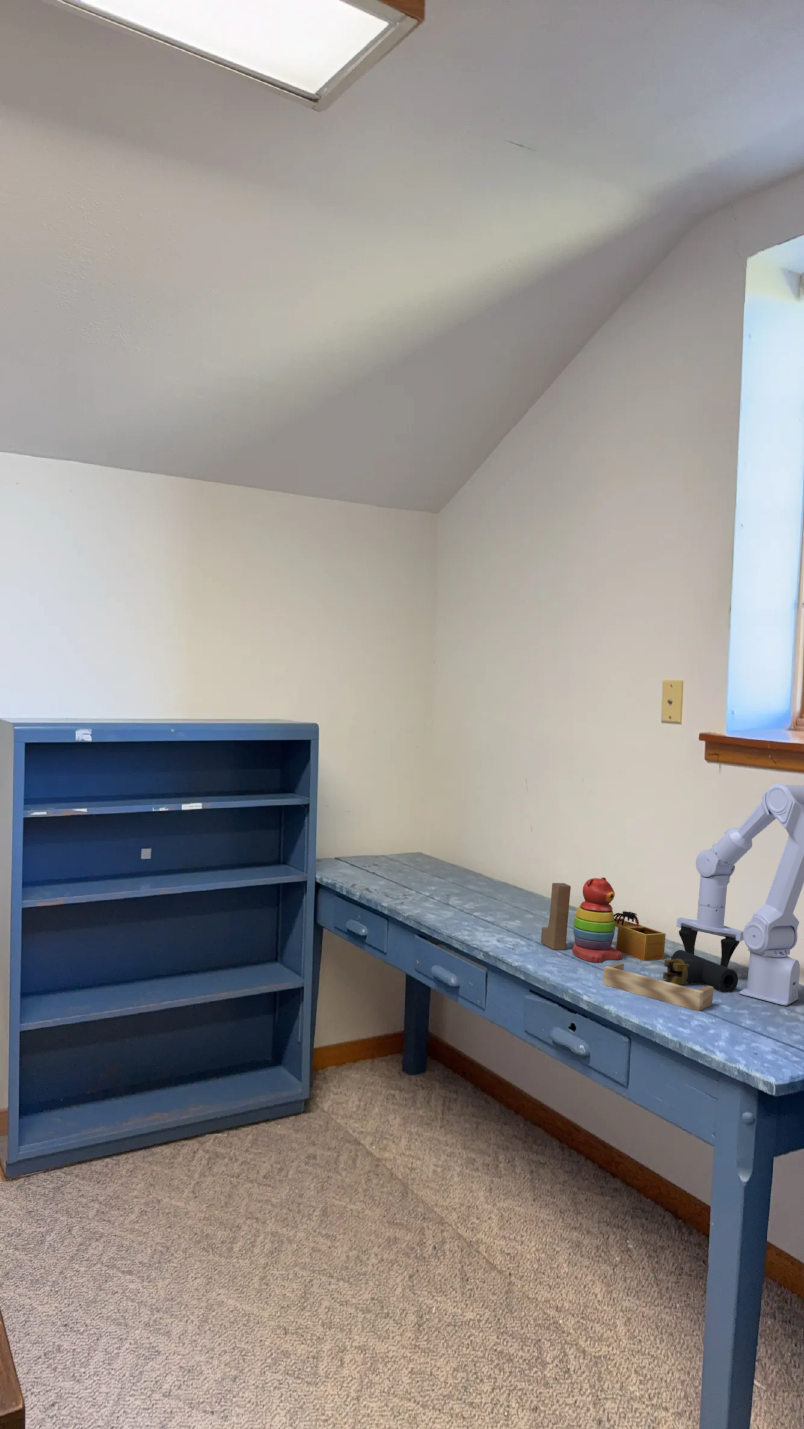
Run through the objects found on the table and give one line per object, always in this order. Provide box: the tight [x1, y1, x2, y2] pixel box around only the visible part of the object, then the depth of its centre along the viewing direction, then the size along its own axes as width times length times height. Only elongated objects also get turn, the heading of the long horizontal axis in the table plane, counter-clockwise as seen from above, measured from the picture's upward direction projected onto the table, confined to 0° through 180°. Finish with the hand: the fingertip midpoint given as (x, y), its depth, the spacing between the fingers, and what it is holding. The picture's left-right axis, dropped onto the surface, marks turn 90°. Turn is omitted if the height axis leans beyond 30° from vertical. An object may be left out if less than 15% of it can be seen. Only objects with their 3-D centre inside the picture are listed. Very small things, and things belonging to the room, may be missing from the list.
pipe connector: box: [662, 949, 739, 993], centre depth 201 cm, size 12×5×15 cm
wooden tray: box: [602, 962, 714, 1012], centre depth 189 cm, size 20×6×4 cm, turn 50°
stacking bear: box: [571, 876, 623, 963], centre depth 217 cm, size 11×10×18 cm
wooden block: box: [540, 882, 572, 951], centre depth 222 cm, size 7×3×15 cm, turn 18°
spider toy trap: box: [613, 910, 667, 962], centre depth 223 cm, size 6×15×9 cm, turn 29°
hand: (706, 966), depth 209 cm, fingers open, 7 cm apart
